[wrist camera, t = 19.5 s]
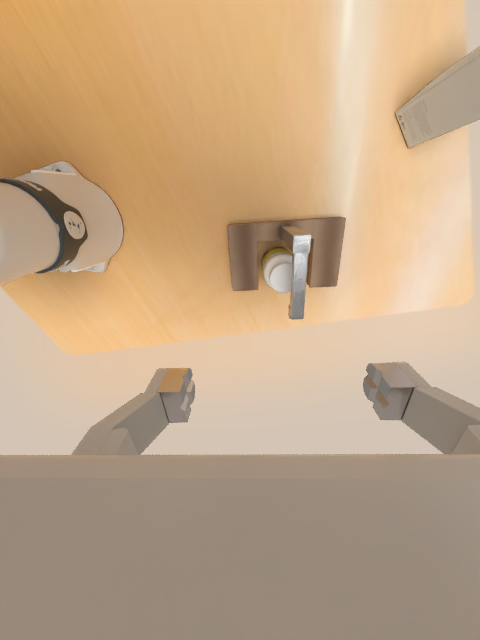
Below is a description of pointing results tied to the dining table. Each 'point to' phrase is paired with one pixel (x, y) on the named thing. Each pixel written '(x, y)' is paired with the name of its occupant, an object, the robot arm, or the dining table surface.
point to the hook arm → (297, 266)
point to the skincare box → (443, 103)
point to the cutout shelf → (247, 235)
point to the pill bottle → (278, 269)
